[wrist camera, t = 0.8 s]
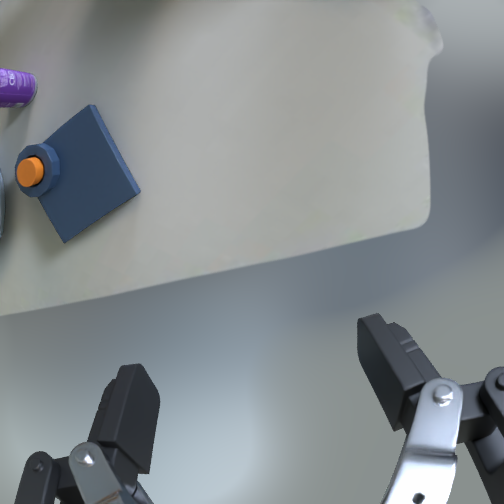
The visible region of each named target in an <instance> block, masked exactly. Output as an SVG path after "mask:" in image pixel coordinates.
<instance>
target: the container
mask: <svg viewBox="0 0 504 504" xmlns="http://www.w3.org/2000/svg"><path fill="white" fill-rule="evenodd" d="M36 91H37V79H36V77H35V76H34V75H33V74H30V73H26V72H20V71H15V70H9V69H3V68H0V107H25V106H27V105H28V104H29V103H30V102H31V101H32V100H33V98H34V96H35V94H36Z"/></svg>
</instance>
